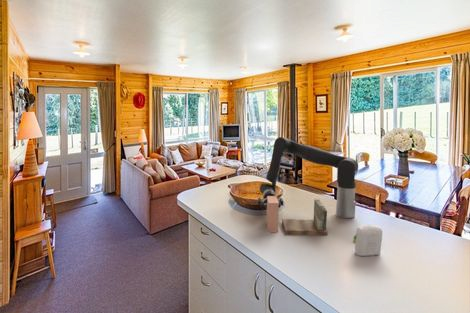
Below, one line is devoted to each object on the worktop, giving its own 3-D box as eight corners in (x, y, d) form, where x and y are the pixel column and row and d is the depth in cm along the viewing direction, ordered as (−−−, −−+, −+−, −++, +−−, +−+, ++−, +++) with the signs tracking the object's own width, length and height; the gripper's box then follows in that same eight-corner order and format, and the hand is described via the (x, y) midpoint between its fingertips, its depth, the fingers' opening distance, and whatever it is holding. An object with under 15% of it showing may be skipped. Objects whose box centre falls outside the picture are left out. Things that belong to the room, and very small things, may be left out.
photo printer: (375, 250, 112) (377, 222, 110) (382, 255, 108) (384, 227, 106) (353, 251, 111) (355, 224, 109) (359, 257, 107) (361, 228, 105)
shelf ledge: (319, 223, 140) (321, 198, 137) (327, 235, 126) (329, 207, 124) (282, 222, 141) (283, 197, 139) (285, 234, 127) (286, 206, 125)
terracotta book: (275, 222, 141) (276, 196, 138) (278, 231, 130) (278, 203, 127) (266, 222, 141) (267, 196, 139) (267, 231, 130) (268, 202, 128)
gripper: (257, 190, 158) (258, 199, 142) (281, 191, 157) (284, 199, 141) (257, 202, 159) (258, 212, 143) (281, 203, 158) (284, 212, 142)
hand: (271, 206), depth 142 cm, fingers open, 8 cm apart
